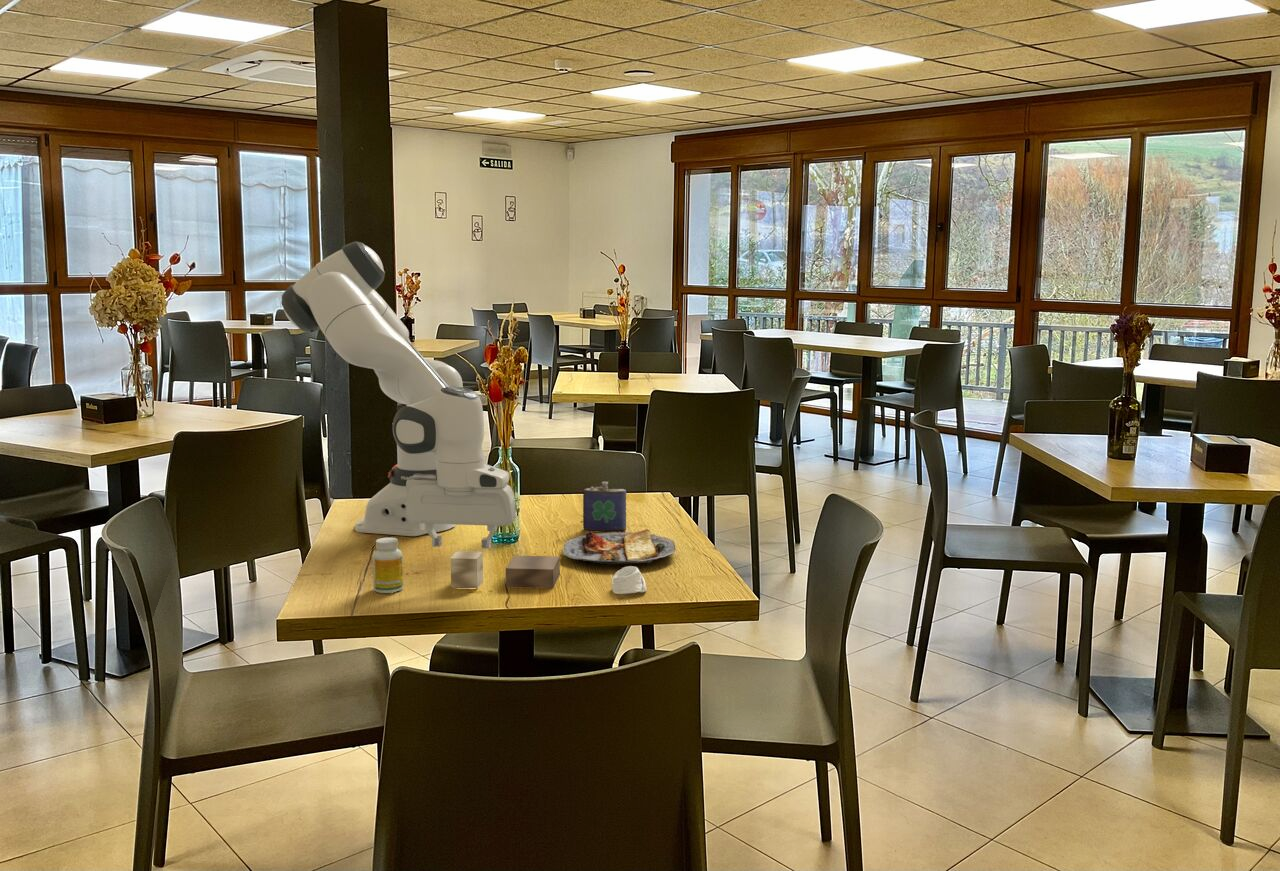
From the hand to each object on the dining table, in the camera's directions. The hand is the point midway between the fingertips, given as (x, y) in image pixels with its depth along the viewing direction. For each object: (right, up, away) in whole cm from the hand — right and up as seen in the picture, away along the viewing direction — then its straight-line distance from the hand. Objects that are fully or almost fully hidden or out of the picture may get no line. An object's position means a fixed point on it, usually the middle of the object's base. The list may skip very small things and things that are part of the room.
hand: (461, 547), depth 200 cm
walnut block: (+13, -7, +5) cm, 16 cm away
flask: (+25, -1, +44) cm, 51 cm away
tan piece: (+1, -8, +2) cm, 8 cm away
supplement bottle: (-13, -8, -1) cm, 16 cm away
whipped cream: (+32, -8, -1) cm, 33 cm away
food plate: (+29, -5, +24) cm, 38 cm away
